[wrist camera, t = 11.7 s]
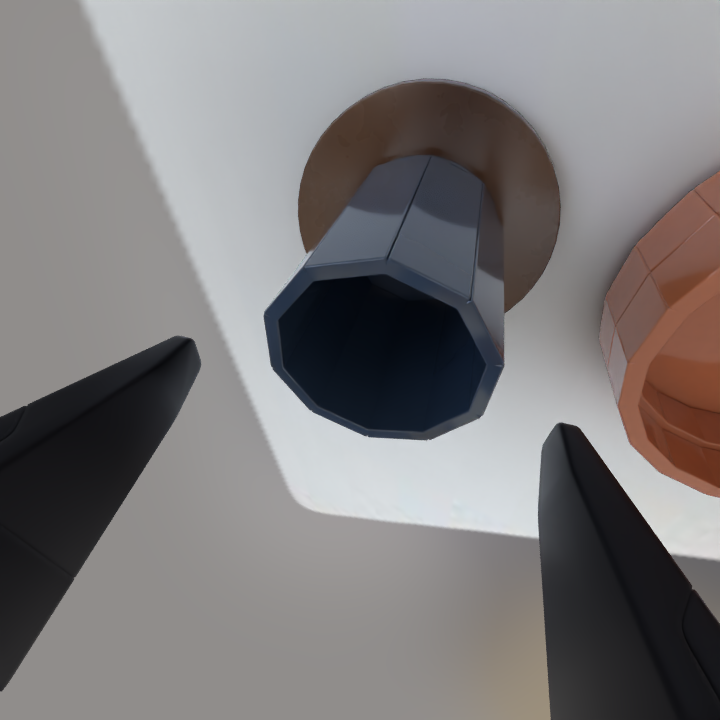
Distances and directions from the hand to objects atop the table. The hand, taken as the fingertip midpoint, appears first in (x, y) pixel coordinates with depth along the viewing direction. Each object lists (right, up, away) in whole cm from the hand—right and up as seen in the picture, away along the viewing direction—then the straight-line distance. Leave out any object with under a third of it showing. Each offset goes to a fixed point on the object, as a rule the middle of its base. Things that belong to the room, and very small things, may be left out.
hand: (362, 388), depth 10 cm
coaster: (+2, +6, +6) cm, 9 cm away
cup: (+2, +5, +6) cm, 8 cm away
